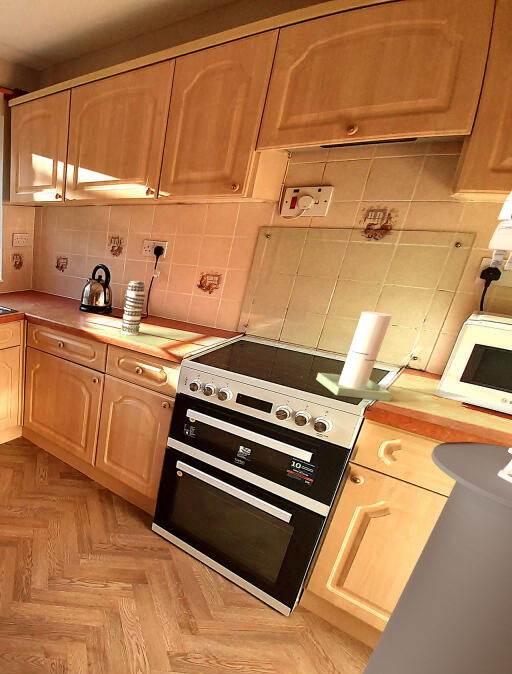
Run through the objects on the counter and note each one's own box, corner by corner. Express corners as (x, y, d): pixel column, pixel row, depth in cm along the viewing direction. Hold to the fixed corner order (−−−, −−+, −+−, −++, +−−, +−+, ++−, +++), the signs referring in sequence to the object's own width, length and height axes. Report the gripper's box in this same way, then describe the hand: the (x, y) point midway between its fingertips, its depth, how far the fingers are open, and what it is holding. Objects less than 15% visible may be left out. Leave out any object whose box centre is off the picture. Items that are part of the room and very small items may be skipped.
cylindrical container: (337, 382, 145) (361, 310, 136) (363, 387, 141) (390, 313, 132) (338, 388, 139) (363, 313, 130) (365, 393, 136) (393, 316, 127)
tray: (390, 401, 132) (393, 393, 131) (336, 395, 135) (339, 387, 134) (363, 384, 146) (366, 377, 145) (316, 379, 149) (318, 372, 148)
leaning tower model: (140, 332, 210) (148, 280, 201) (138, 336, 202) (146, 282, 193) (121, 329, 213) (128, 279, 204) (118, 333, 205) (125, 281, 196)
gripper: (493, 214, 118) (472, 265, 123) (523, 211, 102) (498, 270, 107) (526, 214, 115) (503, 266, 120) (563, 211, 99) (535, 272, 104)
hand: (501, 268), depth 113 cm, fingers open, 8 cm apart
